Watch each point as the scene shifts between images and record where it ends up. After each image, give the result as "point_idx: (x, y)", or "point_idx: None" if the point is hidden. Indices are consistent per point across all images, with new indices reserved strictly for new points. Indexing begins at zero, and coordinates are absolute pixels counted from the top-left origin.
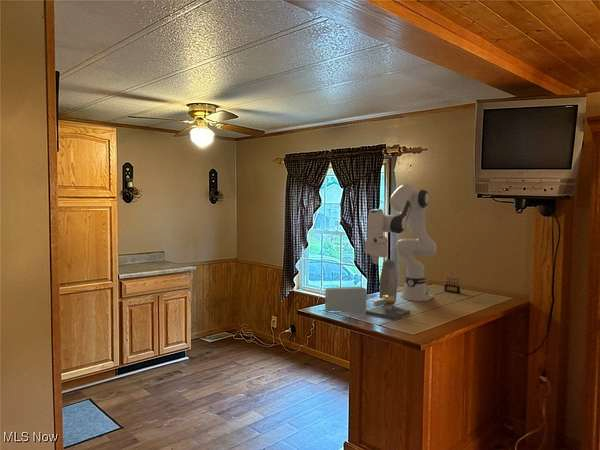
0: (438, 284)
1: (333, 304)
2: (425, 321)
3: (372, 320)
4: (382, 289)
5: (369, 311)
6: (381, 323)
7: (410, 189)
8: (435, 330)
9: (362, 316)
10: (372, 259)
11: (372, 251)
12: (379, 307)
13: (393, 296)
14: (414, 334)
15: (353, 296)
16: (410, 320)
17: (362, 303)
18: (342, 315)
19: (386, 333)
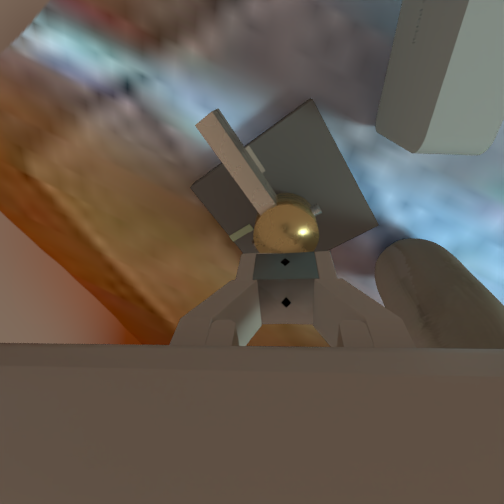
0: None
1: None
2: (173, 271)
3: (203, 84)
4: (429, 272)
5: (294, 113)
6: (154, 107)
7: None
8: (77, 250)
9: (279, 61)
10: (328, 283)
11: (266, 468)
12: (346, 194)
13: (265, 252)
14: (21, 167)
15: (427, 40)
16: (188, 236)
17: (390, 113)
18: None
19: (10, 60)
